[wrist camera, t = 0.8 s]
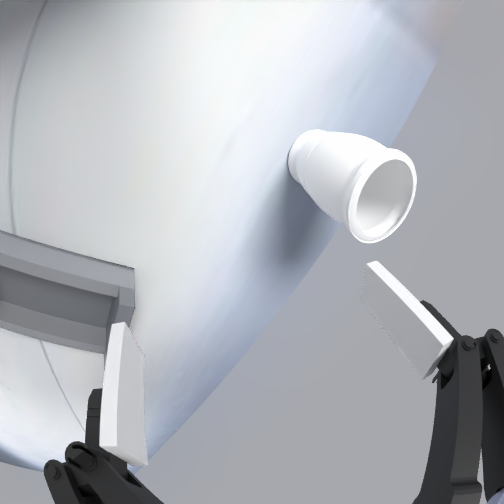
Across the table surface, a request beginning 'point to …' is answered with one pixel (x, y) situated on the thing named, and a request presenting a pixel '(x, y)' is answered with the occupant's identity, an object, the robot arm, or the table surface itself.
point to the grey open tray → (62, 294)
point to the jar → (355, 181)
